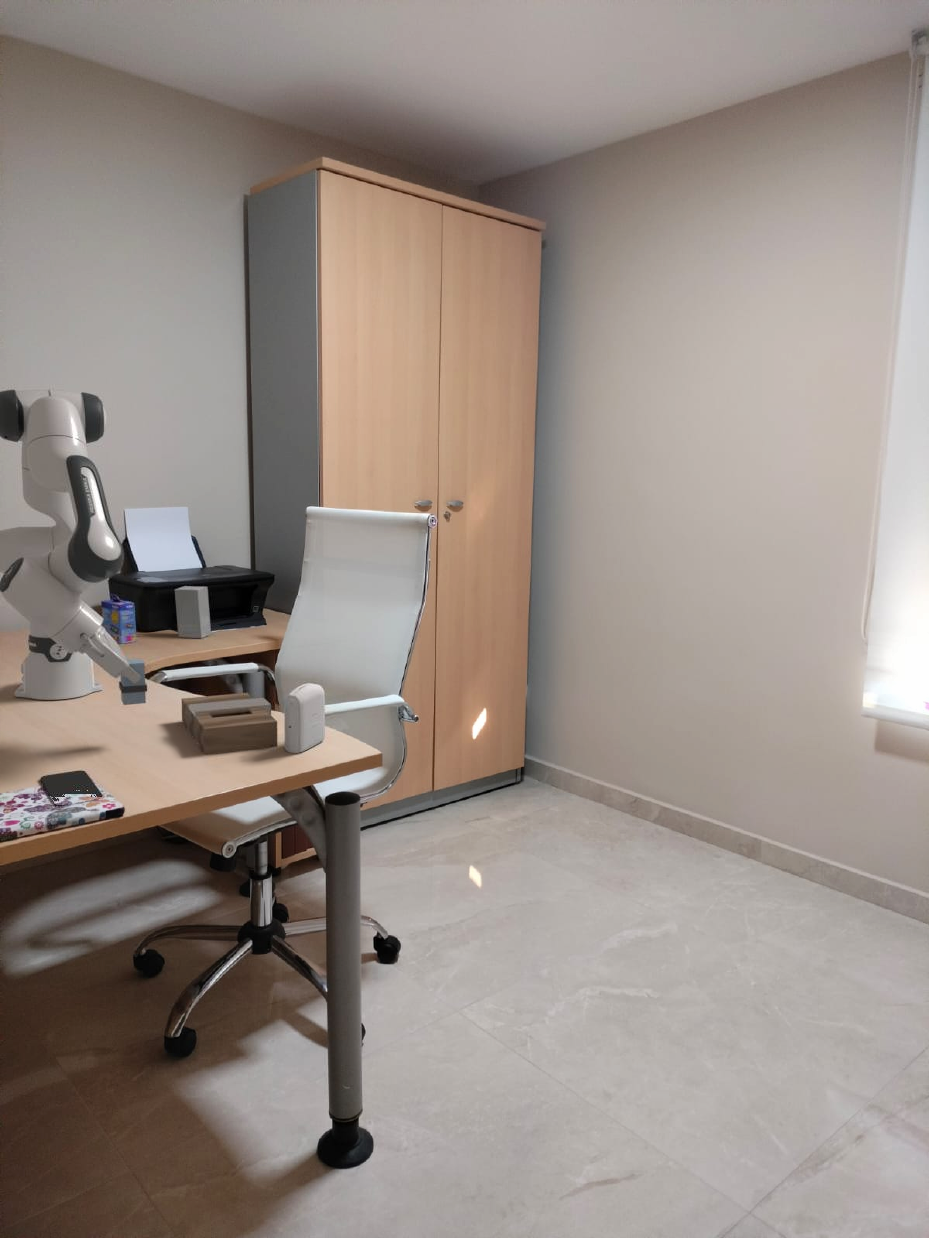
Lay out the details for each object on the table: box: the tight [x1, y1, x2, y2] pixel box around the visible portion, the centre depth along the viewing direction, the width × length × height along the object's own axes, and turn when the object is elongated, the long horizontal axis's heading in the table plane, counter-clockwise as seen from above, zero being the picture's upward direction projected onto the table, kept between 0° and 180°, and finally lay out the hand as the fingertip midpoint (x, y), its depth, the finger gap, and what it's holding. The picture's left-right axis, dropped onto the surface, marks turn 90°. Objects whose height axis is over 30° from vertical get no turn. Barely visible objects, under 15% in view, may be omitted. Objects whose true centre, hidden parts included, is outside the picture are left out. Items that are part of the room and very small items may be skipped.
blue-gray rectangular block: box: [118, 658, 148, 706], centre depth 175 cm, size 5×5×8 cm
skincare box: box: [174, 585, 212, 639], centre depth 283 cm, size 8×7×16 cm
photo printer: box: [283, 683, 326, 754], centre depth 177 cm, size 10×4×12 cm, turn 158°
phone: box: [39, 769, 104, 801], centre depth 151 cm, size 7×1×15 cm
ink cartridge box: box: [100, 593, 137, 645], centre depth 273 cm, size 10×6×14 cm, turn 54°
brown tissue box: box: [181, 692, 278, 755], centre depth 184 cm, size 24×14×5 cm, turn 27°
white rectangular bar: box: [189, 697, 272, 717], centre depth 184 cm, size 6×15×4 cm, turn 117°
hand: (136, 676), depth 175 cm, fingers closed on blue-gray rectangular block, 4 cm apart
